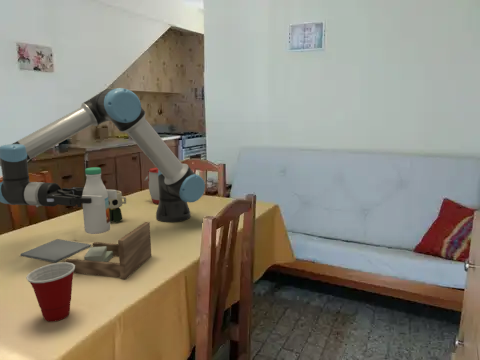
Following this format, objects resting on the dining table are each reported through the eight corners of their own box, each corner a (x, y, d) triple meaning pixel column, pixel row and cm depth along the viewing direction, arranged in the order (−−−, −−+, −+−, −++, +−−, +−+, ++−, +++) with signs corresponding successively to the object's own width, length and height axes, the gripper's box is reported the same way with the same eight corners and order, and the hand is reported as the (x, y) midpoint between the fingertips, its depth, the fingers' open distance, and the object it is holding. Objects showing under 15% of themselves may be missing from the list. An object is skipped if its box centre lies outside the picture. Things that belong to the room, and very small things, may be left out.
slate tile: (91, 246, 146) (90, 244, 146) (55, 262, 132) (55, 260, 132) (57, 241, 152) (57, 238, 152) (20, 256, 138) (20, 253, 138)
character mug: (99, 224, 173) (97, 194, 170) (105, 219, 180) (103, 190, 177) (125, 224, 172) (123, 194, 170) (129, 219, 179) (128, 190, 177)
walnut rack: (151, 256, 136) (149, 222, 134) (125, 279, 119) (122, 240, 117) (96, 252, 141) (94, 218, 138) (64, 273, 124) (60, 236, 121)
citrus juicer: (147, 198, 216) (145, 161, 212) (180, 197, 218) (179, 160, 214) (143, 206, 201) (141, 166, 197) (179, 205, 203) (177, 165, 199)
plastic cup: (41, 305, 104) (36, 261, 102) (84, 303, 105) (80, 260, 103) (23, 329, 94) (17, 280, 91) (71, 326, 95) (66, 278, 92)
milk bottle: (102, 235, 124) (97, 170, 120) (79, 233, 125) (74, 170, 121) (115, 227, 131) (110, 166, 127) (93, 226, 133) (88, 165, 129)
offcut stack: (113, 257, 137) (112, 245, 136) (101, 269, 127) (100, 256, 126) (93, 256, 137) (92, 245, 137) (80, 269, 128) (79, 256, 127)
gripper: (64, 198, 140) (125, 201, 136) (22, 214, 121) (91, 218, 116) (63, 176, 139) (124, 179, 134) (19, 189, 119) (89, 192, 115)
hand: (109, 197), depth 125 cm, fingers closed on milk bottle, 8 cm apart
